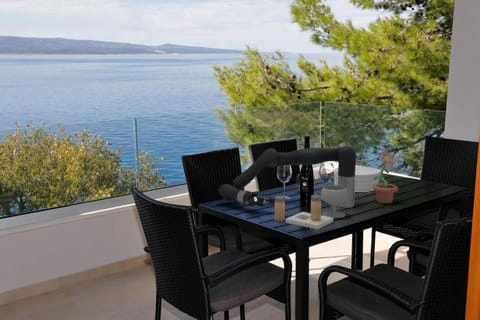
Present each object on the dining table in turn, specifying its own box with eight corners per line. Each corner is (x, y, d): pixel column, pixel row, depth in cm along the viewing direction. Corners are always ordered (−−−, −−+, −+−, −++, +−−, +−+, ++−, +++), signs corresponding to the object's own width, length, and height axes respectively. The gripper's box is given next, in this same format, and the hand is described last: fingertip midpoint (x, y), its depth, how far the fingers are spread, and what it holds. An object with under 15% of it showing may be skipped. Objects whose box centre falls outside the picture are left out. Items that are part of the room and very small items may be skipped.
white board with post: (302, 215, 279) (302, 189, 276) (333, 221, 268) (334, 194, 266) (285, 222, 267) (286, 195, 264) (317, 229, 256) (317, 201, 253)
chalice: (344, 211, 286) (345, 184, 283) (350, 219, 272) (351, 190, 269) (318, 212, 285) (318, 184, 283) (323, 219, 272) (323, 190, 269)
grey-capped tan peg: (278, 218, 275) (278, 195, 272) (286, 219, 272) (286, 196, 269) (272, 220, 271) (272, 197, 269) (280, 222, 268) (281, 198, 266)
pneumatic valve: (295, 192, 329) (295, 173, 327) (309, 189, 336) (310, 170, 334) (300, 193, 325) (301, 174, 323) (315, 191, 331) (315, 172, 329)
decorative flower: (383, 206, 295) (385, 153, 290) (365, 201, 307) (367, 150, 301) (402, 203, 302) (405, 151, 297) (384, 198, 314) (386, 147, 309)
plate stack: (345, 194, 324) (346, 175, 322) (327, 184, 351) (327, 167, 349) (387, 191, 331) (387, 173, 329) (365, 182, 357) (366, 165, 355)
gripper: (237, 193, 283) (258, 198, 271) (256, 189, 292) (278, 194, 280) (237, 207, 284) (258, 213, 272) (256, 202, 293) (278, 207, 281)
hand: (268, 203), depth 276 cm, fingers open, 8 cm apart
